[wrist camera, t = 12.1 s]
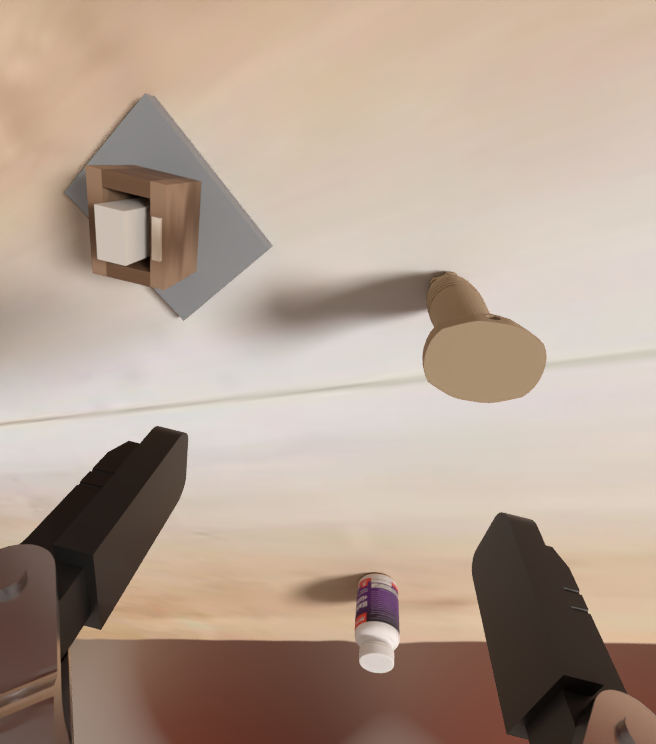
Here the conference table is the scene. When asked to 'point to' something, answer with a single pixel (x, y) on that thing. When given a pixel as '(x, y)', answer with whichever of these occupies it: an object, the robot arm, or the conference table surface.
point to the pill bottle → (377, 622)
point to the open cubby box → (167, 221)
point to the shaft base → (215, 205)
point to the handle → (477, 346)
